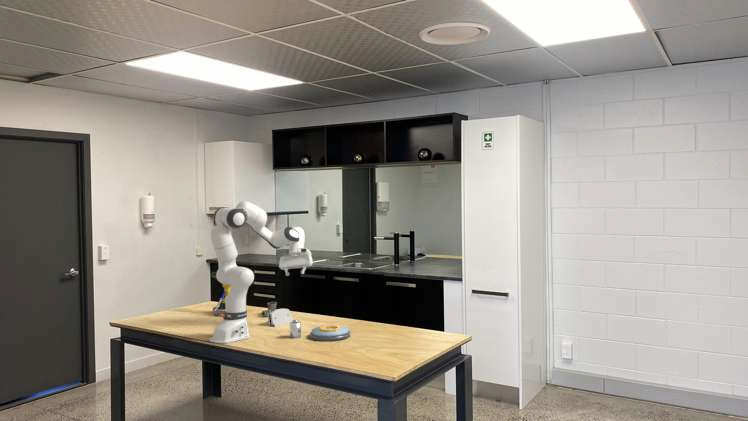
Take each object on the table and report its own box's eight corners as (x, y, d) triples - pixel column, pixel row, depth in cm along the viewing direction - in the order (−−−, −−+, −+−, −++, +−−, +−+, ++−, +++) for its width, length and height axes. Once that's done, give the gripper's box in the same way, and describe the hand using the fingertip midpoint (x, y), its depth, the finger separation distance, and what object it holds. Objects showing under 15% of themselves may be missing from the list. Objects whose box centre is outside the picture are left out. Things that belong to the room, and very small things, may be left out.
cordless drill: (239, 309, 380) (238, 269, 380) (241, 314, 362) (240, 273, 361) (211, 311, 375) (210, 271, 374) (212, 317, 357) (211, 274, 356)
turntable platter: (333, 338, 286) (333, 333, 286) (304, 334, 297) (303, 329, 297) (355, 330, 303) (355, 325, 302) (326, 326, 313) (326, 322, 313)
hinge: (274, 327, 325) (270, 310, 326) (269, 328, 327) (265, 312, 329) (295, 321, 338) (290, 305, 340) (289, 323, 341) (285, 307, 342)
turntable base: (334, 343, 284) (334, 339, 284) (301, 338, 296) (301, 334, 296) (358, 334, 303) (357, 330, 303) (326, 329, 315) (326, 326, 315)
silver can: (296, 338, 296) (295, 322, 296) (287, 337, 299) (287, 320, 299) (303, 336, 301) (303, 319, 301) (295, 335, 304) (294, 318, 304)
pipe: (260, 317, 353) (259, 304, 353) (272, 313, 364) (272, 301, 364) (267, 318, 350) (267, 305, 350) (279, 314, 361) (279, 302, 361)
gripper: (278, 252, 327) (276, 274, 320) (310, 248, 322) (309, 270, 315) (282, 257, 332) (280, 278, 325) (314, 253, 327) (312, 274, 320)
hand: (294, 274), depth 320 cm, fingers open, 8 cm apart
